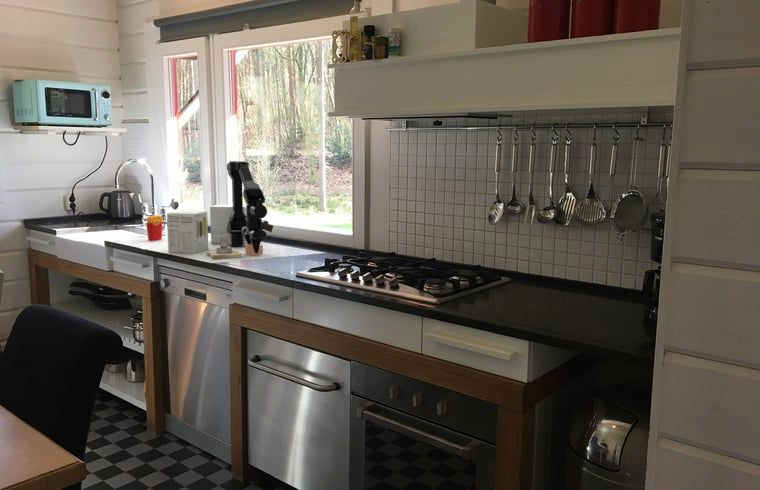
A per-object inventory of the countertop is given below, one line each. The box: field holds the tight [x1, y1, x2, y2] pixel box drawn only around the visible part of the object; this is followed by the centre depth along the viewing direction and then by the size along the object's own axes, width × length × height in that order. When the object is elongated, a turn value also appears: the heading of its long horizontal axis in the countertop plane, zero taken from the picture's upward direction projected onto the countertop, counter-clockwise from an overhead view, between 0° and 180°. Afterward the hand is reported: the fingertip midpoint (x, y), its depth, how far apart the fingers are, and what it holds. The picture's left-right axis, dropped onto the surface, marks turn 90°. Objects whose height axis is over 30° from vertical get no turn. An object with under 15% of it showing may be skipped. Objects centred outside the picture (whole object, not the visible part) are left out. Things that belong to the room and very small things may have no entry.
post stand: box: [206, 236, 243, 260], centre depth 272 cm, size 12×12×8 cm
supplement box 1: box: [166, 209, 209, 254], centre depth 285 cm, size 13×13×18 cm
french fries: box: [145, 214, 164, 242], centre depth 317 cm, size 8×4×12 cm, turn 143°
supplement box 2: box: [209, 203, 247, 245], centre depth 312 cm, size 17×13×18 cm
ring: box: [244, 243, 264, 256], centre depth 278 cm, size 7×7×4 cm
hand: (254, 251), depth 279 cm, fingers open, 7 cm apart
